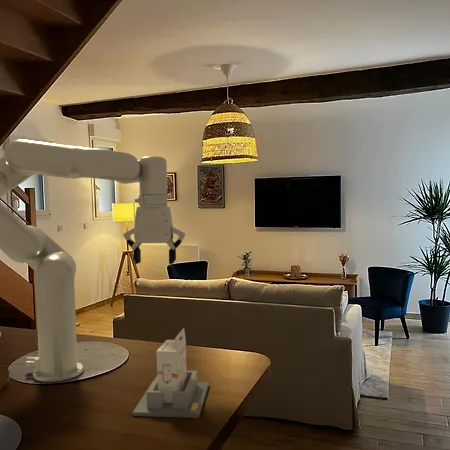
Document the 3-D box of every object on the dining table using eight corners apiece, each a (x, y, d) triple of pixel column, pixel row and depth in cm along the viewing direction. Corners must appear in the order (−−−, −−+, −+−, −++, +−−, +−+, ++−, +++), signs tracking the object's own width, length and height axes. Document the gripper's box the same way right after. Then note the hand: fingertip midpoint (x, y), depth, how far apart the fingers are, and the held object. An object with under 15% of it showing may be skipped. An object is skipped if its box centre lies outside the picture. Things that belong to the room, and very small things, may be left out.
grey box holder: (132, 415, 95) (132, 395, 95) (153, 383, 112) (152, 366, 112) (198, 417, 94) (198, 397, 94) (208, 385, 111) (208, 368, 111)
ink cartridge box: (167, 387, 108) (165, 326, 107) (187, 388, 107) (186, 327, 107) (156, 403, 99) (155, 337, 99) (178, 404, 99) (177, 337, 98)
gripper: (118, 202, 122) (119, 265, 123) (181, 201, 120) (182, 265, 121) (127, 202, 130) (129, 261, 130) (187, 201, 127) (188, 261, 128)
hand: (154, 263), depth 126 cm, fingers open, 9 cm apart
